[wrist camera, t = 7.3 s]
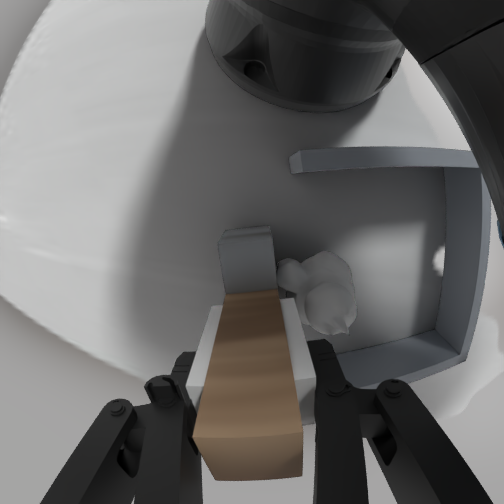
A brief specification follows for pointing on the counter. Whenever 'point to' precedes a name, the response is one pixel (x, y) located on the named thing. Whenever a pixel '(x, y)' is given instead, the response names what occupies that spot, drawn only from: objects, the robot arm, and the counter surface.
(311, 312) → the rubber duck
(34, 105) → the counter surface
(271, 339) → the scraper
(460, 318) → the box
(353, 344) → the counter surface
